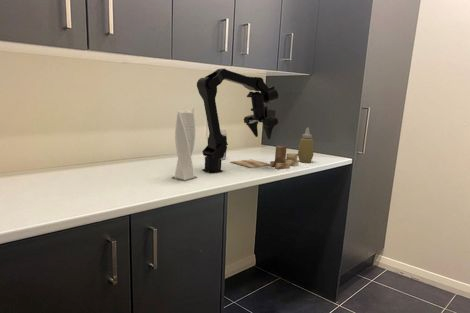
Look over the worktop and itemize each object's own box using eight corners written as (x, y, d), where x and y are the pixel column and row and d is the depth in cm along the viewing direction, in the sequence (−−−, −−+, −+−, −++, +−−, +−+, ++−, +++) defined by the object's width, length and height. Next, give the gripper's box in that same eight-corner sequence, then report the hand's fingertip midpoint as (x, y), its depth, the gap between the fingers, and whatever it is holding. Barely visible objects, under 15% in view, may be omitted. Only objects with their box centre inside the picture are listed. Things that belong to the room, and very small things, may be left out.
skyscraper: (200, 178, 130) (202, 106, 125) (185, 182, 123) (187, 105, 118) (183, 174, 135) (185, 104, 130) (169, 178, 128) (170, 104, 123)
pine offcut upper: (293, 160, 162) (293, 154, 161) (286, 159, 164) (286, 153, 164) (297, 159, 165) (297, 153, 164) (290, 158, 167) (290, 152, 167)
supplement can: (207, 159, 170) (208, 129, 168) (213, 156, 178) (214, 128, 175) (222, 160, 168) (224, 131, 165) (228, 158, 176) (229, 129, 173)
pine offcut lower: (289, 166, 162) (290, 160, 161) (284, 164, 166) (284, 158, 166) (298, 166, 164) (298, 160, 163) (292, 164, 168) (292, 158, 168)
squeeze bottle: (305, 163, 170) (308, 128, 167) (293, 161, 176) (296, 126, 173) (316, 162, 175) (319, 128, 171) (304, 159, 181) (307, 126, 178)
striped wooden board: (249, 167, 154) (249, 167, 154) (230, 162, 164) (230, 161, 164) (270, 164, 163) (270, 164, 163) (250, 160, 173) (250, 159, 173)
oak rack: (277, 169, 154) (277, 163, 154) (270, 166, 160) (270, 161, 159) (289, 168, 157) (290, 163, 157) (282, 165, 163) (282, 160, 162)
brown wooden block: (277, 168, 156) (279, 147, 154) (274, 166, 159) (275, 146, 157) (285, 167, 158) (286, 146, 156) (281, 166, 160) (283, 145, 159)
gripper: (285, 102, 149) (289, 135, 154) (258, 100, 164) (263, 131, 169) (266, 108, 143) (271, 142, 148) (240, 105, 158) (245, 137, 163)
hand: (262, 137), depth 157 cm, fingers open, 9 cm apart
